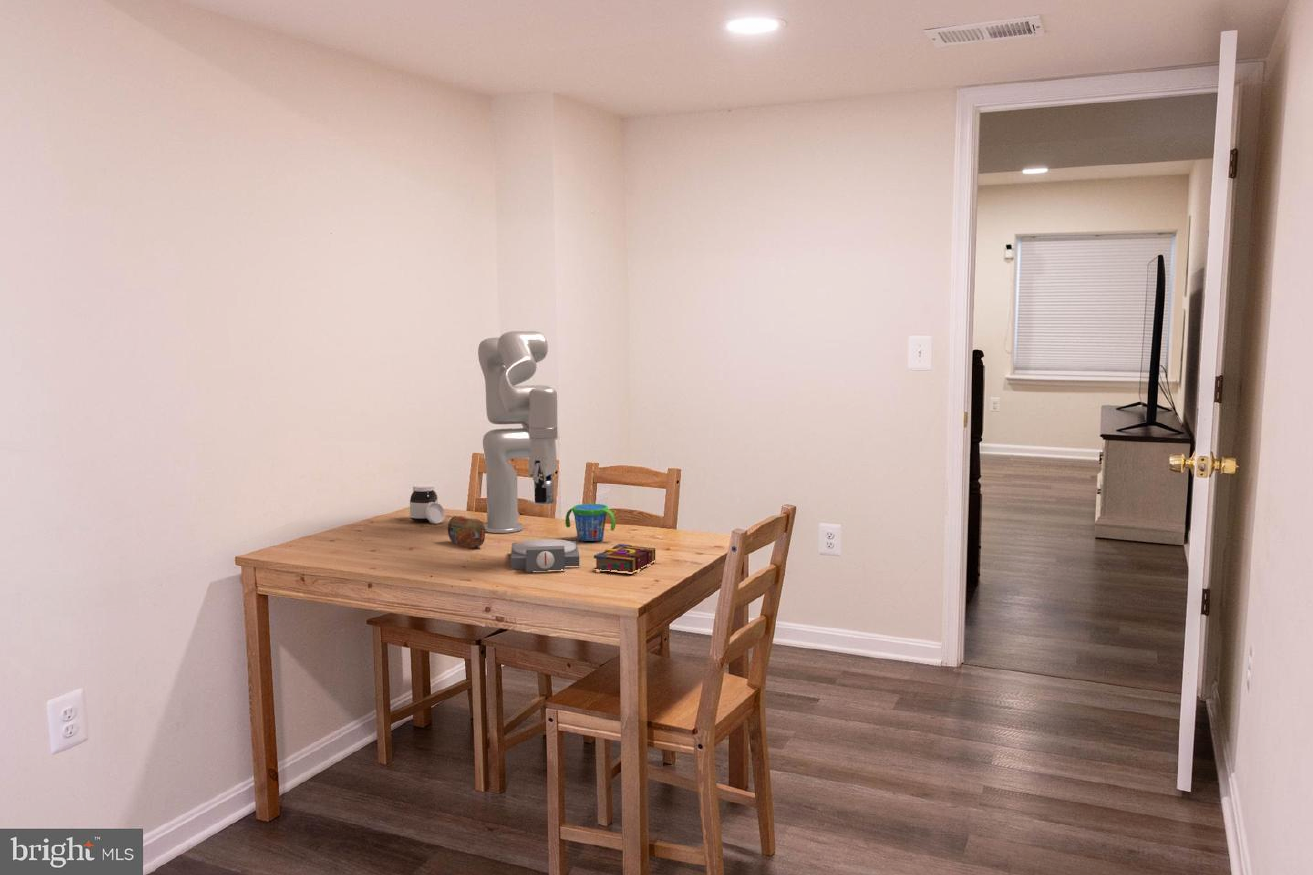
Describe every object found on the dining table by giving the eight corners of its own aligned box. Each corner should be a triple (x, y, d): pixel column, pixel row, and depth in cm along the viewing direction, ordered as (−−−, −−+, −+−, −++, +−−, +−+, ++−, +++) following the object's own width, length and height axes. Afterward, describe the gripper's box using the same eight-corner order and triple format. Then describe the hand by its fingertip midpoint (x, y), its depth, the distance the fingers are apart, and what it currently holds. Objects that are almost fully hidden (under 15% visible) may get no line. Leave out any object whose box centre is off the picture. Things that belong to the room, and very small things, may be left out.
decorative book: (656, 563, 267) (656, 545, 267) (630, 577, 253) (630, 558, 252) (619, 559, 272) (619, 541, 271) (591, 573, 257) (591, 554, 257)
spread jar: (418, 517, 328) (418, 482, 326) (451, 518, 326) (450, 483, 325) (404, 524, 316) (403, 488, 315) (438, 525, 314) (437, 489, 313)
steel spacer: (538, 500, 271) (538, 478, 270) (555, 501, 270) (555, 479, 269) (532, 503, 266) (532, 481, 265) (550, 504, 265) (549, 482, 264)
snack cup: (558, 540, 294) (558, 507, 292) (577, 534, 303) (577, 501, 302) (604, 546, 286) (603, 511, 285) (621, 539, 296) (621, 505, 295)
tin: (447, 542, 291) (446, 514, 290) (456, 540, 294) (455, 512, 293) (478, 550, 281) (477, 521, 280) (487, 548, 283) (486, 519, 282)
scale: (512, 553, 277) (511, 532, 277) (576, 551, 280) (576, 530, 279) (510, 573, 255) (510, 550, 255) (580, 571, 258) (580, 549, 257)
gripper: (540, 430, 275) (541, 494, 277) (519, 436, 258) (520, 505, 260) (566, 430, 273) (567, 495, 275) (546, 437, 256) (547, 506, 259)
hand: (544, 499), depth 268 cm, fingers closed on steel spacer, 5 cm apart
